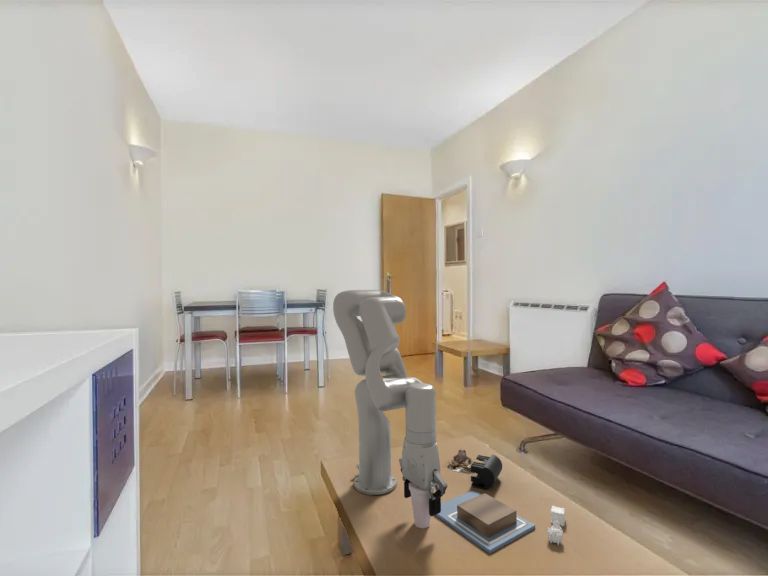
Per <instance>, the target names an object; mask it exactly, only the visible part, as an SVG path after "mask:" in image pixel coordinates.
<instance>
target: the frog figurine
mask: <svg viewBox="0 0 768 576" xmlns="http://www.w3.org/2000/svg"><path fill="white" fill-rule="evenodd" d="M473 462H474V461H473V460H472V458H471V457H469V456H468V455H467V451H466V450H465V449H459V450H458V452H457V454H456V455H454V456H453V459H452V460H451V462H449V461H447V463H448V466H449V469H450V468H451V469H452V472H454V473H455V472H456V473H460V472H464V473H466V474H467V473H468V474H475V473H474V472H471V465H470V464H472V463H473ZM469 466H470V467H469ZM455 467H457V468H456V469H457V470H456V469H454V468H455ZM459 467H460V468H461V469H459Z"/></svg>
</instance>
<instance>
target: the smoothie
mask: <svg viewBox="0 0 768 576" xmlns="http://www.w3.org/2000/svg"><path fill="white" fill-rule="evenodd" d="M431 484H433V483H431ZM432 489H433V492H434V491H436V489H435V487H432ZM409 490H410V492H411V497H410V498H411V506H412V511H413V512H412V514H413V520H414V525H415V527H416V528H418V529H419V528H420V529H427V528H428V527H429V526H430V525H431V517H432V516H430V515H429V498H431V497H430V494H429V492H428V490H427V489H426V490H424V489H422V488H420V487H419V486H417V485H415V484H414V483H412V482H411V481H410V483H409Z"/></svg>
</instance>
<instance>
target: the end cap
mask: <svg viewBox="0 0 768 576" xmlns="http://www.w3.org/2000/svg"><path fill="white" fill-rule="evenodd" d="M475 460H478V461H480V462H477V461H473V463H470V464H471V465H470V467H471V472H474V473H473V474H476V476H474V475H471V476H470V482H471V487H472V488H476V489H481V490H486V491H487V490H489V489H490V488H492V487H493V486H494V485H495V483H496V481H497V479H498V478H499V476H500V474H501V472H502V471H503V463H502V461H501V459H500V457H498V456H497V455H495V454H491V455H490V456H486V455H481V454H478V455H477V456H476V457H475Z"/></svg>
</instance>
